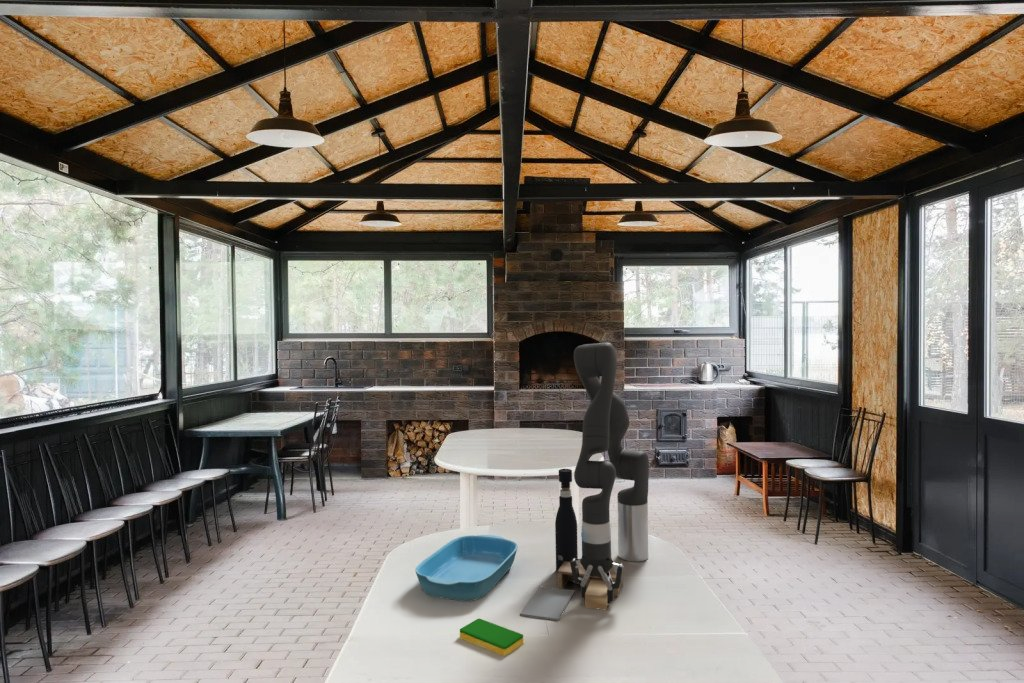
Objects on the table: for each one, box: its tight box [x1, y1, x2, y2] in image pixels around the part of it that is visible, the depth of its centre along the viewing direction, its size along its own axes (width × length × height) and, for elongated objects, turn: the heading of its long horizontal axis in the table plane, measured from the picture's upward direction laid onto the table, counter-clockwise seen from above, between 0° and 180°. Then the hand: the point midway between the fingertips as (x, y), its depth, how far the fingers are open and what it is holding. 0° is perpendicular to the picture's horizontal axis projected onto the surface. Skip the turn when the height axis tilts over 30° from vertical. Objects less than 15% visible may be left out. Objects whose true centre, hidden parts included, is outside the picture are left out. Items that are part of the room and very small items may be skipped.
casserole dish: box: [415, 534, 519, 602], centre depth 179 cm, size 37×22×7 cm, turn 159°
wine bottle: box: [554, 468, 579, 574], centre depth 183 cm, size 6×6×30 cm
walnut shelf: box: [557, 561, 624, 598], centre depth 171 cm, size 7×17×5 cm, turn 71°
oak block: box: [584, 577, 614, 610], centre depth 165 cm, size 14×6×4 cm, turn 163°
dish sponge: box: [459, 618, 524, 657], centre depth 144 cm, size 7×14×2 cm, turn 52°
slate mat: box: [519, 585, 575, 622], centre depth 162 cm, size 17×10×1 cm, turn 161°
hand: (597, 600), depth 162 cm, fingers closed on oak block, 5 cm apart
